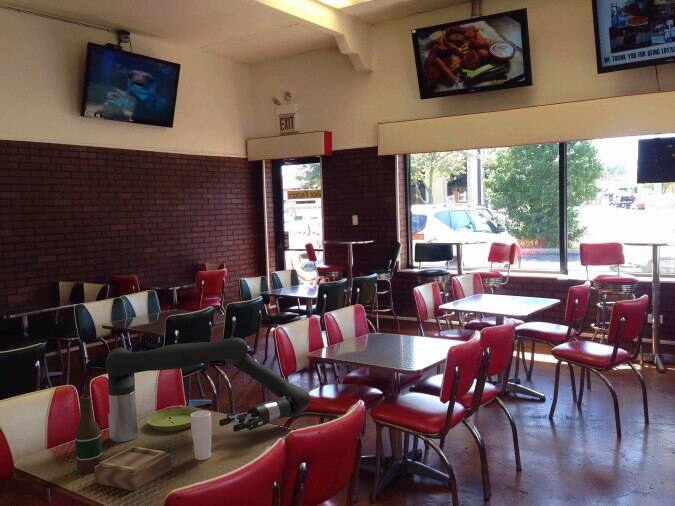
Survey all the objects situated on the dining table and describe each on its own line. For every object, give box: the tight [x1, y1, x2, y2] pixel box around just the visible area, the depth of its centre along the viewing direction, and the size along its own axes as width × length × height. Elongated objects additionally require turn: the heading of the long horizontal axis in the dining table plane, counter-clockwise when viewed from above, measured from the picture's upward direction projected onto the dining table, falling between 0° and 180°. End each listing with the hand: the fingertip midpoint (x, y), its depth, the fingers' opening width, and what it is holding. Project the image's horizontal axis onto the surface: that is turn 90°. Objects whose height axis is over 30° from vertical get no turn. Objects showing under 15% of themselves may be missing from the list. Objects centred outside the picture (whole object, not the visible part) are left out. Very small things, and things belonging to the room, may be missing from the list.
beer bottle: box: [74, 395, 104, 474], centre depth 193 cm, size 8×8×24 cm
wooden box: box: [94, 445, 172, 492], centre depth 187 cm, size 16×16×6 cm
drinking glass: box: [190, 410, 213, 461], centre depth 198 cm, size 7×7×15 cm
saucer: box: [146, 408, 198, 432], centre depth 233 cm, size 21×21×3 cm
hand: (226, 426), depth 205 cm, fingers open, 8 cm apart
